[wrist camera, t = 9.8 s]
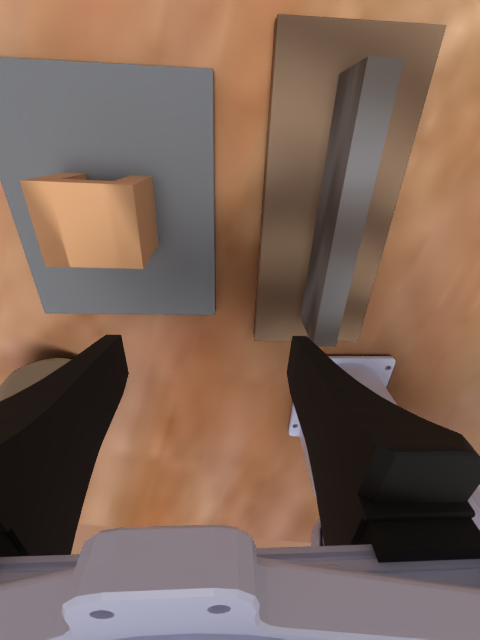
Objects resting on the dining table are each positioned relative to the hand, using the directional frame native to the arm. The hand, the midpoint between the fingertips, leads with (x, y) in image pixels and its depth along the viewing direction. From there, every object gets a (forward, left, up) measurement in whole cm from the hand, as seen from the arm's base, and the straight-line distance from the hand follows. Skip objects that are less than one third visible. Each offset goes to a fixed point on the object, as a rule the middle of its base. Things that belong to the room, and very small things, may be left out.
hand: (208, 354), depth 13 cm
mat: (+4, +6, -9) cm, 12 cm away
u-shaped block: (+4, +6, -9) cm, 11 cm away
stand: (+4, -7, -9) cm, 12 cm away
